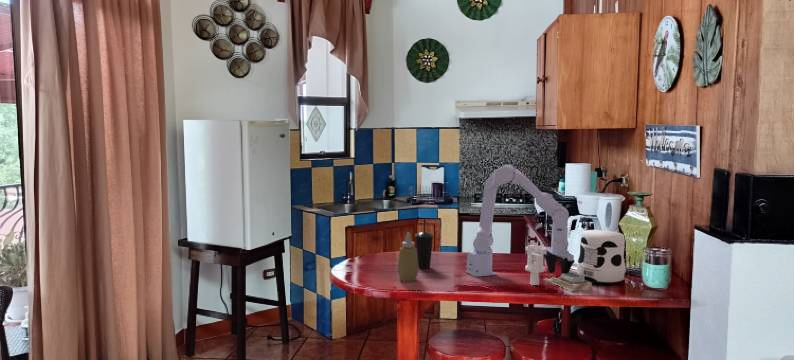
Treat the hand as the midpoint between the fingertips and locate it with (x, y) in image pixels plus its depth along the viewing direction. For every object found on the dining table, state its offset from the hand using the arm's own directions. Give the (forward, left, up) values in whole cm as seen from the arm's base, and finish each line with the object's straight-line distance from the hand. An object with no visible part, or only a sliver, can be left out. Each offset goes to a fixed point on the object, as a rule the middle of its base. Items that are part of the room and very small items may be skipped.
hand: (557, 275), depth 210 cm
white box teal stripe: (0, -8, -1) cm, 8 cm away
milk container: (+16, -5, -2) cm, 17 cm away
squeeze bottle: (-52, +21, -2) cm, 56 cm away
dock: (0, -5, -3) cm, 6 cm away
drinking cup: (-39, +35, -2) cm, 53 cm away
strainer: (-11, -1, -2) cm, 11 cm away
